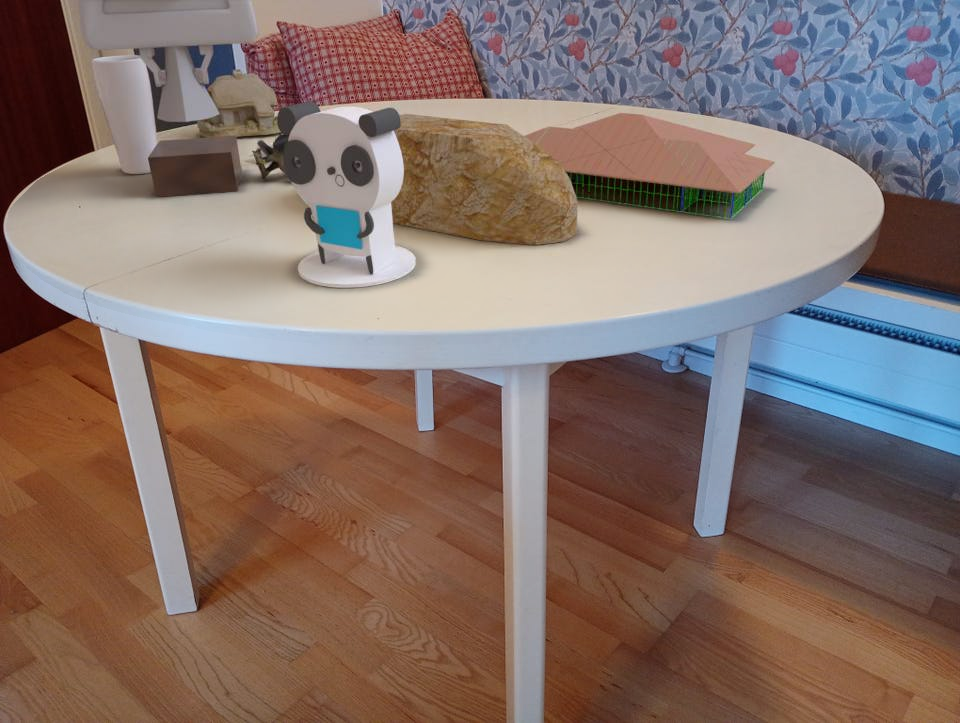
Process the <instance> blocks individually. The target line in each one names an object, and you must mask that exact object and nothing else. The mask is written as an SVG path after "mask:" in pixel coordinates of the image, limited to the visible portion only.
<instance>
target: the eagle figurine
mask: <svg viewBox="0 0 960 723" xmlns="http://www.w3.org/2000/svg"><path fill="white" fill-rule="evenodd" d="M276 137H277V138H276ZM276 137H275V138H276V140H275V139H274V141H273V142H272V143H273V148H272V147H270V146H269V145H267V144H266V143H267V142H265V141H264V140H263V139H260V140H258V141H257V143H256V144H257V145H258V146H259V147H260V148H259V149H257V148H256V149H255V150H252V154H254V156H253V157H254V160H255V164H256V166H257V167H258V170H259V172H260V175H261V176H260V180H261V181H262V182H263V181H265V180H266V179H267V177H268V176H269V174H270V173H272V171H275V170H276V169H279V170H280V171H281V172H282V173H283V174H284V175H285V176H286V174H285V170H284V163H283V154H284V147H285V144H286V142H288V139H289V135H284V134H279V135H278V136H276ZM260 149H261V150H260ZM261 151H263V152H264V153H265V154H266V155H267V157H263V158H262V155H261ZM270 162H271V163H270ZM267 163H269V165H268V166H267V167H266V166H265V164H267ZM289 182H290V184H292V182H291V181H290V180H289Z"/></svg>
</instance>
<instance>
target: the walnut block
mask: <svg viewBox="0 0 960 723" xmlns="http://www.w3.org/2000/svg"><path fill="white" fill-rule="evenodd" d="M237 139H238V137H236V136H222V137H192V138H177V139H176V138H175V139H163V140H161V139H160V140H159V141H157V142H158V144H157V145H156V147H155V148H154V149H153V151H152V152H151V154H150V155H149V157H148V161H149V166H150V171H151V172H150V175H151V179H152V184H153V190H154V194H155V197H156V198H164V197H176V196H177V197H178V196H179V197H180V196H191V195H192V196H193V195H204V194H217V193H218V194H219V193H229V192H230V193H231V192H238V190H239V186H240V181H241V177H242V173H243V170H242V169H243V168H242V164H241V158H240V150H239V144H238V140H237Z"/></svg>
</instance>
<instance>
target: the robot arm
mask: <svg viewBox="0 0 960 723" xmlns="http://www.w3.org/2000/svg"><path fill="white" fill-rule="evenodd" d="M77 2H78V15H79V22H80V23H79V24H80V29H81V34H82V38H83V41H84V44H86V45H87V46H88V47H89V48H90V49H91V50H92V51H109V50H110V51H112V50H113V51H114V50H132V49H138V51H139V56H140V57H141V59H142V60H143V62H144V63H145V64H146V66H147V69H149V70H150V72H151V73H152V74H153V78H154V83H155V87H156V88H161V87H162V88H163V86H165V85H166V78H167V76H166V71H165V69H161V68H160V67H159V65H158V64H157V62H155V60H154V59H153V57H154V56H155V55H156V53H155V49H154V48H164V47H176V46H188V47H193V46H195V47H197V46H198V49H199V50H198V51H199V54H200V55H201V56H204V57H203V60H202V63H201V66H200V67H195V70H194V76H195V77H196V80H197V82H198V83H199V84H204V85H209V84H210V77H209V72H208V69H209V65H210V62H211V60H212V58H213V55H214V48H213V46H215V45H216V46H217V45H218V46H219V45H237V44H238V45H239V44H252V43H254V42H255V41H256V40H257V38H258V37H259V26H258V20H257V17H256V12H255V8H254V5H253V2H252V0H78V1H77Z"/></svg>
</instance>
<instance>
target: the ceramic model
mask: <svg viewBox="0 0 960 723" xmlns="http://www.w3.org/2000/svg"><path fill="white" fill-rule="evenodd" d="M206 90H207V92H208V93H209V95H210V97H211V99H212V100H213V102H214V104H215V106H216V108H217V109H218V111H219V113H220V114H219V115H216V116H214V117H211V118H208V119H204V120H197V121H196V126H197V129H198V131H199V134H200V136H201V137H202V138H207V137H222V136H236V138H238V137H249V136H250V137H251V136H265V135H273V134H279V133H281V131H280V130H279V128H278V125H277V115H275V114H276V113H275V107H276V106H277V105H278V100H277V96H276V92H275V91H274V89H273V88H272V87H271V86H269V85H268V84H267V83H266V82H264V81H263V80H262V79H261V77H259V75H258V74H256V73H254V72H252V73H251V72H249V73H243V71H242V70H241V69H239V68H238V69H233V70H232V74H225V75H220V76H216V77H215V80H214V81H213V82H212V83H211V84H210V85H208V88H207V89H206Z"/></svg>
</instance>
